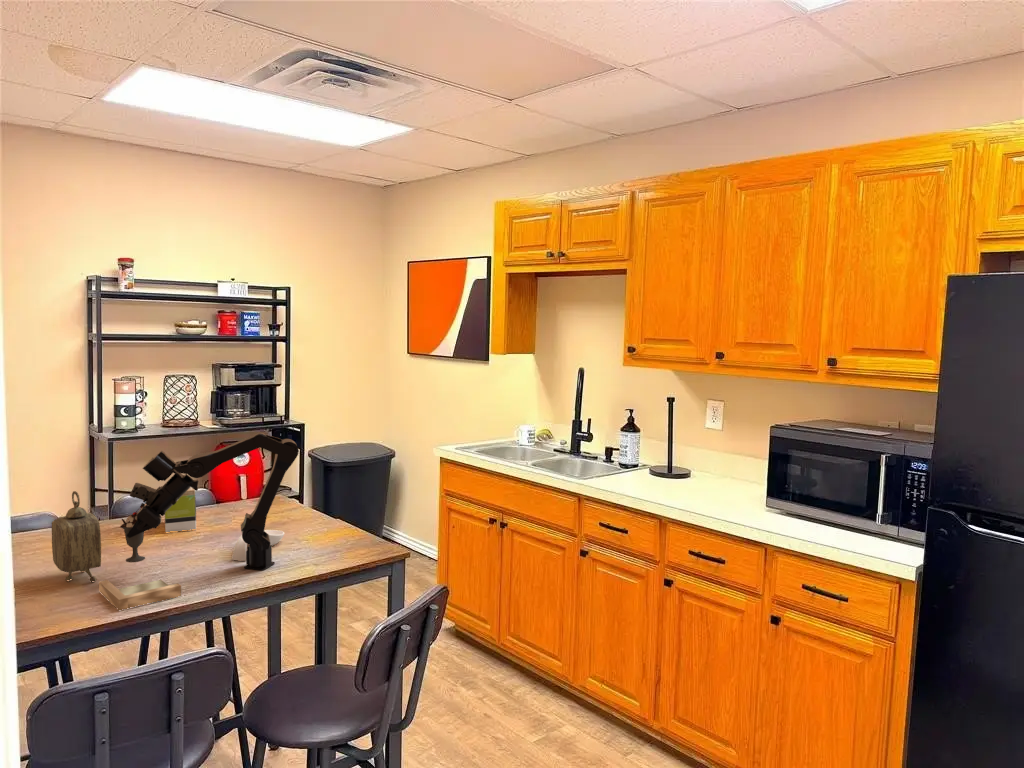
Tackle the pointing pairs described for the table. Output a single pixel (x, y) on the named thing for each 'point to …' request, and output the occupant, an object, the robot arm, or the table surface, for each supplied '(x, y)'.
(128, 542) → the sundae
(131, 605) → the corner tray
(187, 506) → the tea box
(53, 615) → the table surface
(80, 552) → the tabletop clock
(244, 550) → the spoon rest
